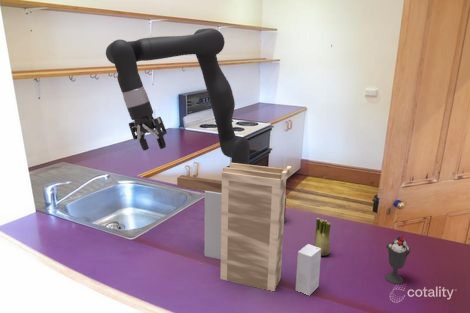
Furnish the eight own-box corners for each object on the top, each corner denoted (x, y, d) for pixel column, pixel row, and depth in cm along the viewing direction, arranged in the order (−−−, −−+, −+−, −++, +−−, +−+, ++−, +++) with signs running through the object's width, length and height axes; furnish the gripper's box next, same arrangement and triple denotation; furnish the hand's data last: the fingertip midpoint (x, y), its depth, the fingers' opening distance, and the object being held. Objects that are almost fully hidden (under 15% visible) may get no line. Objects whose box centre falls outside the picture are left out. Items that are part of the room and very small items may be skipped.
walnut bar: (181, 183, 117) (181, 175, 116) (257, 194, 108) (257, 185, 107) (177, 186, 114) (177, 177, 113) (253, 197, 105) (254, 188, 104)
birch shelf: (229, 267, 108) (231, 159, 101) (284, 279, 102) (291, 166, 95) (220, 278, 102) (221, 165, 94) (278, 293, 96) (285, 172, 88)
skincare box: (305, 281, 102) (308, 243, 99) (318, 287, 99) (322, 248, 97) (294, 290, 97) (297, 251, 95) (308, 297, 95) (311, 256, 92)
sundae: (395, 287, 100) (402, 239, 96) (377, 275, 106) (383, 229, 102) (412, 282, 102) (419, 235, 99) (393, 271, 108) (399, 225, 105)
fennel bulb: (311, 249, 121) (314, 216, 118) (325, 249, 121) (328, 216, 118) (317, 258, 115) (320, 224, 112) (331, 257, 115) (335, 223, 113)
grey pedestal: (211, 249, 119) (211, 186, 114) (233, 253, 116) (234, 190, 111) (204, 256, 115) (204, 191, 110) (227, 261, 112) (228, 195, 107)
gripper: (160, 96, 114) (176, 143, 119) (132, 102, 122) (148, 146, 127) (144, 103, 108) (161, 152, 113) (115, 109, 117) (132, 154, 121)
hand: (154, 148), depth 120 cm, fingers open, 8 cm apart
